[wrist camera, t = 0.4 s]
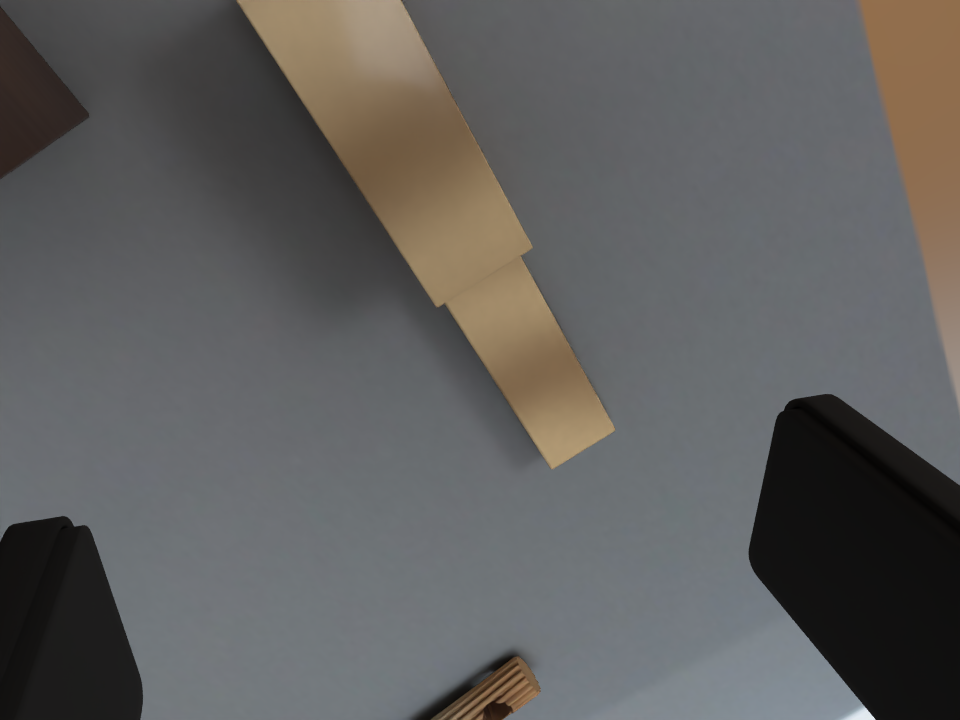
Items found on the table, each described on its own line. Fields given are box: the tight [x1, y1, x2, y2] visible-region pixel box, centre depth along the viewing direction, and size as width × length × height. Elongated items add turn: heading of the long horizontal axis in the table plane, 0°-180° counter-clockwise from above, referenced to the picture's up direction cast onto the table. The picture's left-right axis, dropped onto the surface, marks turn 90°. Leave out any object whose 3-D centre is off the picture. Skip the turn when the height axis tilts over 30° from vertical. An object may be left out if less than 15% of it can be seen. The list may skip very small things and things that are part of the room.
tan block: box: [236, 0, 615, 469], centre depth 22 cm, size 18×3×3 cm, turn 29°
